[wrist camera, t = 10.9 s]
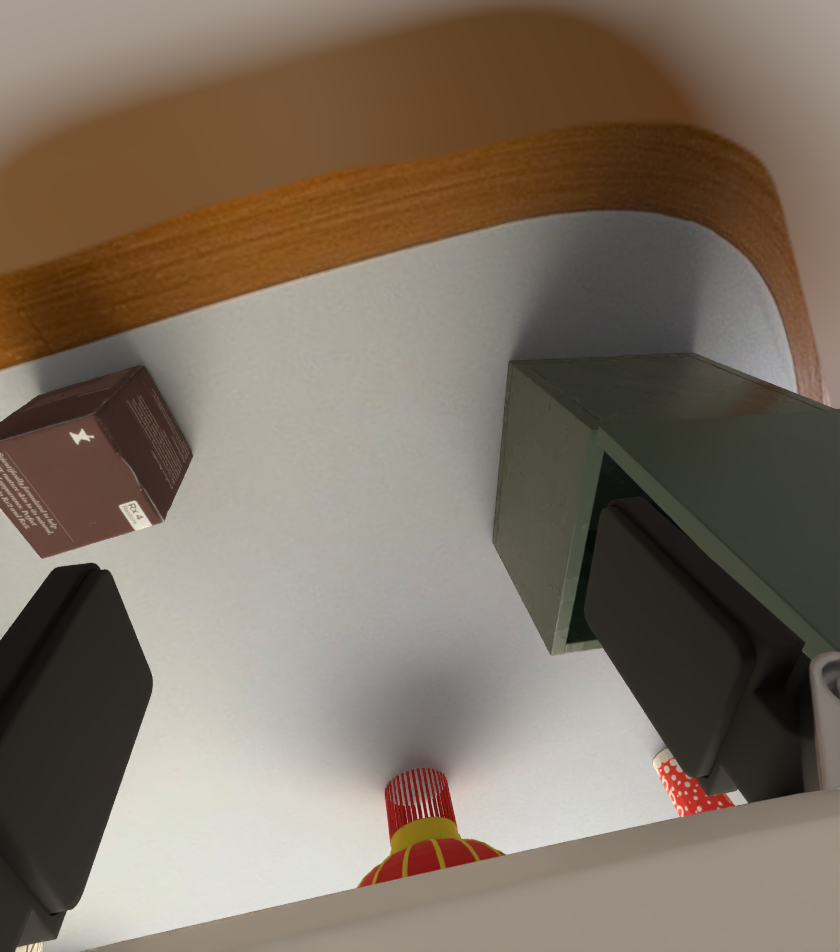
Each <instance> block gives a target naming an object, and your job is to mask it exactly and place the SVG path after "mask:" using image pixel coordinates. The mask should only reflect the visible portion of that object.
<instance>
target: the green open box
mask: <svg viewBox="0 0 840 952" xmlns="http://www.w3.org/2000/svg"><path fill="white" fill-rule="evenodd" d="M832 409H834V408H832V407H829V406H827V405H824V404H821V403H819V402H816V401H814V400H811V399H809V398H806V397H804V396H801V395H799V394H796V393H794V392H791V391H789V390H786V389H784V388H781V387H778V386H776V385H773V384H771V383H768V382H766V381H763V380H761V379H758V378H756V377H753V376H751V375H748V374H746V373H743V372H741V371H738V370H736V369H733V368H730V367H728V366H725V365H723V364H720V363H718V362H715V361H713V360H710V359H708V358H705V357H703V356H701V355H698V354H696V353H675V354H653V355H631V356H609V357H588V358H566V359H544V360H522V361H509V364H508V375H507V386H506V397H505V409H504V420H503V431H502V442H501V453H500V464H499V476H498V487H497V498H496V509H495V520H494V531H493V544H494V546H495V548H496V550H497V552H498V554H499V556H500V558H501V560H502V562H503V564H504V566H505V568H506V570H507V572H508V573H509V575H510V577H511V579H512V581H513V583H514V585H515V587H516V589H517V591H518V593H519V595H520V597H521V599H522V601H523V603H524V604H525V606H526V608H527V610H528V612H529V614H530V616H531V618H532V620H533V622H534V624H535V626H536V628H537V630H538V632H539V634H540V635H541V637H542V639H543V641H544V643H545V645H546V647H547V649H548V651H549V653H550V655H551V656H553V655H560V654H564V653H565V654H566V653H573V652H579V651H586V650H593V649H600V648H603V647H602V646H601V644H600V642H599V641H598V639H597V638H596V636H595V635H594V633H593V632H592V630H591V629H590V627H589V625H588V623H587V621H586V618H585V613H584V606H585V600H586V594H587V588H588V582H589V577H590V571H591V565H592V559H593V553H594V547H595V541H596V535H597V529H598V524H599V518H600V513H601V511H602V509H604V508H607V506H608V504H609V502H610V501H612V500H614V499H623V498H631V497H642V498H643V499H645V500H646V501H647V502H648V503H649V504H651V505H652V506H653V507H654V508H655V509H656V510H657V511H658V512H660V513H661V514H662V515H663V516H664V517H665V518H666V519H667V520H669V521H670V522H671V523H672V524H673V525H674V526H675V527H676V528H677V529H679V530H680V531H681V532H682V533H683V534H684V535H685V536H686V537H688V538H689V539H690V540H691V541H692V542H693V543H694V544H695V545H697V544H696V543H695V542H694V541H693V540H692V539H691V538H690V537H689V536H688V535H687V534H686V533H685V532H684V531H683V530H682V529H681V528H680V527H679V526H678V525H677V524H676V523H675V522H674V521H673V519H672V518H671V517H670V516H669V515H668V514H667V513H666V512H665V511H664V510H663V509H662V508H661V507H660V506H659V505H658V504H657V503H656V502H655V501H654V500H653V499H652V498H651V497H650V496H649V495H648V494H647V493H646V492H645V491H644V490H643V489H642V488H641V487H640V486H639V485H638V484H637V483H636V482H635V481H634V480H633V479H632V478H631V477H630V476H629V475H628V474H627V473H626V472H625V471H624V470H623V469H622V468H621V467H620V466H619V465H618V464H617V463H616V462H615V461H614V460H613V459H612V458H611V457H610V456H609V455H608V454H607V453H606V452H605V451H604V450H603V449H602V448H601V447H600V446H599V445H598V444H597V443H596V438H597V434H598V429H599V426H600V425H613V424H628V423H643V422H657V421H672V420H686V419H701V418H715V417H730V416H745V415H759V414H774V413H788V412H803V411H817V410H832ZM697 546H698V545H697ZM698 547H699V546H698ZM699 548H700V547H699ZM700 549H701V548H700ZM701 550H702V549H701ZM702 551H703V550H702ZM703 552H704V551H703ZM704 553H705V552H704Z"/></svg>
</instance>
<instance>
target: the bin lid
mask: <svg viewBox="0 0 840 952" xmlns="http://www.w3.org/2000/svg"><path fill="white" fill-rule="evenodd" d="M596 443H597V444H598V445H599V446H600V447H601V448H602V449H603V450H604V451H605V452H606V453H607V454H608V455H609V456H610V457H611V458H612V459H613V460H614V461H615V462H616V463H617V464H618V465H619V466H620V467H621V468H622V469H623V470H624V471H625V472H626V473H627V474H628V475H629V476H630V477H631V478H632V479H633V480H634V481H635V482H636V483H637V484H638V485H639V486H640V487H641V488H642V489H643V490H644V491H645V492H646V493H647V494H648V495H649V496H650V497H651V498H652V499H653V500H654V501H655V502H656V503H657V504H658V505H659V506H660V507H661V508H662V509H663V510H664V511H665V512H666V513H667V514H668V515H669V516H670V517H671V518H672V519H673V521H674V522H675V523H676V524H677V525H678V526H679V527H680V528H681V529H682V530H683V531H684V532H685V533H686V534H687V535H688V536H689V537H690V538H691V539H692V540H693V541H694V542H695V543H696V544H697V545H698V546H699V547H700V548H701V549H702V550H703V551H704V552H705V553H706V554H707V555H708V556H709V557H710V558H711V559H712V560H713V561H715V562H716V563H717V564H718V565H719V566H720V567H721V568H722V569H723V570H725V571H726V572H727V573H728V574H729V575H730V576H731V577H732V578H734V579H735V580H736V581H737V582H738V583H739V584H740V585H741V586H743V587H744V588H745V589H746V590H747V591H748V592H749V593H750V594H752V595H753V596H754V597H755V598H756V599H757V600H758V601H759V602H761V603H762V604H763V605H764V606H765V607H766V608H767V609H768V610H770V611H771V612H772V613H773V614H774V615H775V616H776V617H777V618H778V619H780V620H781V621H782V622H783V623H784V624H785V625H786V626H787V627H789V628H790V629H791V630H792V631H793V632H794V633H795V634H796V635H798V636H799V637H800V638H801V639H802V640H803V641H804V642H805V645H804V647H803V649H802V651H803V652H804V653H805V654H806V655H807V656H808V657H809V658H810V659H811V660H813V659H814V658H815V657H816V656H817V655H818V654H822V653H826V652H840V409H832V410H817V411H803V412H788V413H774V414H759V415H745V416H730V417H715V418H701V419H686V420H672V421H657V422H643V423H628V424H613V425H600V426H599V429H598V434H597V438H596Z"/></svg>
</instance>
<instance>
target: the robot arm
mask: <svg viewBox="0 0 840 952" xmlns="http://www.w3.org/2000/svg"><path fill="white" fill-rule="evenodd" d="M584 613H585V618H586V621H587V623H588V625H589V627H590V629H591V630H592V632H593V633H594V635H595V636H596V638H597V639H598V641H599V642H600V644H601V646H602V647H603V649H604V650H605V652H606V653H607V655H608V656H609V658H610V659H611V661H612V663H613V664H614V666H615V667H616V669H617V670H618V672H619V673H620V675H621V676H622V678H623V680H624V681H625V683H626V684H627V686H628V687H629V689H630V690H631V692H632V693H633V695H634V697H635V698H636V700H637V701H638V703H639V704H640V706H641V707H642V709H643V710H644V712H645V713H646V715H647V717H648V718H649V720H650V721H651V723H652V724H653V726H654V727H655V729H656V730H657V732H658V734H659V735H660V737H661V738H662V740H663V741H664V743H665V744H666V746H667V747H668V749H669V751H670V752H671V754H672V755H673V757H674V758H675V760H676V761H677V763H678V764H679V766H680V768H681V769H682V770H683V772H684V773H685V774H686V775H687V776H688V777H691V778H696V780H697V781H698V783H699V784H700V786H701V787H702V789H703V790H704V792H705V793H706V795H707V796H708V797H710V796H714V795H719V794H724V793H728V792H733V791H737V789H738V790H739V791H740V792H741V794H742V795H743V796H744V798H745V799H746V801H747V802H748V804H743V805H738V806H733V807H728V808H722V809H717V810H712V811H707V812H702V813H697V814H693V815H688V816H684V817H679V818H674V819H670V820H665V821H660V822H656V823H651V824H647V825H642V826H637V827H633V828H628V829H623V830H619V831H614V832H610V833H605V834H600V835H596V836H591V837H586V838H582V839H577V840H573V841H568V842H563V843H559V844H554V845H549V846H545V847H540V848H536V849H531V850H527V851H522V852H518V853H513V854H509V855H504V856H500V857H495V858H490V859H486V860H481V861H477V862H472V863H468V864H463V865H459V866H454V867H450V868H445V869H441V870H436V871H432V872H427V873H423V874H418V875H414V876H409V877H405V878H400V879H396V880H391V881H387V882H382V883H378V884H373V885H369V886H364V887H360V888H355V889H351V890H346V891H342V892H338V893H333V894H329V895H324V896H320V897H315V898H311V899H306V900H302V901H298V902H293V903H289V904H285V905H280V906H276V907H271V908H267V909H263V910H258V911H254V912H249V913H245V914H241V915H236V916H232V917H227V918H223V919H219V920H214V921H210V922H205V923H201V924H197V925H192V926H188V927H183V928H179V929H175V930H170V931H166V932H162V933H157V934H153V935H148V936H144V937H140V938H135V939H131V940H126V941H122V942H118V943H114V944H110V945H106V946H102V947H98V948H93V949H89V950H85V951H81V952H840V652H826V653H822V654H818V655H817V656H816V657H815V658H814V659H813V660H811V659H810V658H809V657H808V656H807V655H806V654H805V653H804V652H803V651H802V649H803V647H804V645H805V642H804V641H803V640H802V639H801V638H800V637H799V636H798V635H796V634H795V633H794V632H793V631H792V630H791V629H790V628H789V627H787V626H786V625H785V624H784V623H783V622H782V621H781V620H780V619H778V618H777V617H776V616H775V615H774V614H773V613H772V612H771V611H770V610H768V609H767V608H766V607H765V606H764V605H763V604H762V603H761V602H759V601H758V600H757V599H756V598H755V597H754V596H753V595H752V594H750V593H749V592H748V591H747V590H746V589H745V588H744V587H743V586H741V585H740V584H739V583H738V582H737V581H736V580H735V579H734V578H732V577H731V576H730V575H729V574H728V573H727V572H726V571H725V570H723V569H722V568H721V567H720V566H719V565H718V564H717V563H716V562H715V561H713V560H712V559H711V558H710V557H709V556H708V555H707V554H706V553H704V552H703V551H702V550H701V549H700V548H699V547H698V546H697V545H695V544H694V543H693V542H692V541H691V540H690V539H689V538H688V537H686V536H685V535H684V534H683V533H682V532H681V531H680V530H679V529H677V528H676V527H675V526H674V525H673V524H672V523H671V522H670V521H669V520H667V519H666V518H665V517H664V516H663V515H662V514H661V513H660V512H658V511H657V510H656V509H655V508H654V507H653V506H652V505H651V504H649V503H648V502H647V501H646V500H645V499H643V498H642V497H631V498H623V499H614V500H612V501H610V502H609V504H608V506H607V508H604V509H602V511H601V513H600V518H599V524H598V529H597V535H596V541H595V547H594V553H593V559H592V565H591V571H590V577H589V582H588V588H587V594H586V600H585V606H584ZM152 687H153V679H152V674H151V671H150V669H149V666H148V664H147V661H146V659H145V656H144V654H143V651H142V649H141V646H140V644H139V641H138V639H137V636H136V634H135V631H134V629H133V626H132V624H131V621H130V619H129V616H128V614H127V611H126V609H125V606H124V604H123V601H122V599H121V596H120V594H119V591H118V589H117V586H116V584H115V581H114V579H113V576H112V575H111V573H110V572H109V571H108V570H106V569H104V570H101V569H100V567H99V566H98V565H97V564H95V563H86V564H78V565H69V566H61V567H57V568H55V569H53V570H52V571H51V572H50V574H49V575H48V577H47V578H46V579H45V581H44V582H43V583H42V585H41V586H40V587H39V589H38V590H37V591H36V593H35V594H34V596H33V597H32V598H31V600H30V601H29V602H28V604H27V605H26V606H25V608H24V609H23V610H22V612H21V613H20V615H19V616H18V617H17V619H16V620H15V621H14V623H13V624H12V625H11V627H10V628H9V629H8V631H7V632H6V634H5V635H4V636H3V638H2V639H1V640H0V952H15V951H16V948H17V947H21V946H26V945H31V944H35V943H40V942H44V941H49V940H54V939H57V936H58V933H59V931H60V928H61V925H62V922H63V920H64V917H65V914H66V911H67V910H71V909H73V908H74V907H75V906H76V905H77V904H78V902H79V900H80V899H81V896H82V894H83V891H84V889H85V886H86V883H87V880H88V877H89V874H90V871H91V868H92V865H93V862H94V859H95V857H96V854H97V851H98V848H99V845H100V842H101V839H102V836H103V833H104V830H105V828H106V825H107V822H108V819H109V816H110V813H111V810H112V807H113V804H114V801H115V798H116V796H117V793H118V790H119V787H120V784H121V781H122V778H123V775H124V772H125V769H126V767H127V764H128V761H129V758H130V755H131V752H132V749H133V746H134V743H135V740H136V737H137V735H138V732H139V729H140V726H141V723H142V720H143V717H144V714H145V711H146V708H147V706H148V703H149V700H150V697H151V693H152Z"/></svg>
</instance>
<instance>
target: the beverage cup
mask: <svg viewBox="0 0 840 952" xmlns="http://www.w3.org/2000/svg"><path fill="white" fill-rule="evenodd" d="M653 766H654V768H655V770H656V772H657V774H658V776H659V778H660V779H661V781H662V783H663V785H664V787H665V789H666V791H667V793H668V795H669V797H670V798H671V800H672V802H673V804H674V806H675V808H676V810H677V812H678V814H679V816H680V817H684V816H688V815H693V814H697V813H702V812H707V811H712V810H717V809H722V808H728V807H733V806H735V805H734V804H733V803H732V801H731V800H730V799H729V797H728V796H727V795H726V794H725V793H724V794H719V795H714V796H710V797H708V796H707V795H706V793H705V792H704V790H703V789H702V787H701V786H700V784H699V783H698V781H697V780H696V778H691V777H688V776H687V775H686V774H685V773H684V772H683V770H682V769H681V768H680V766H679V764H678V763H677V761H676V760H675V758H674V757H673V755H672V754H671V752H670V751H669V749H668V748H666V749H664V750H663V751H661V752H660V753H659V754H657V756H656V757H655V758H654V760H653Z"/></svg>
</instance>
